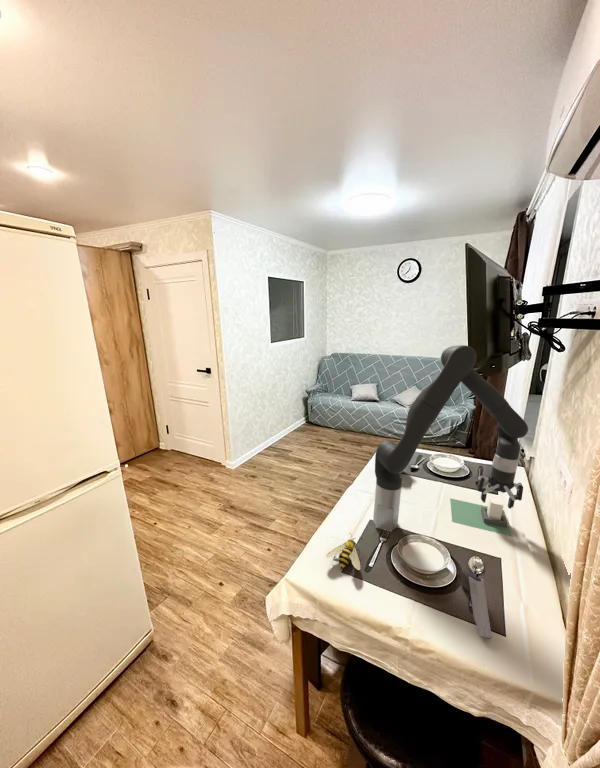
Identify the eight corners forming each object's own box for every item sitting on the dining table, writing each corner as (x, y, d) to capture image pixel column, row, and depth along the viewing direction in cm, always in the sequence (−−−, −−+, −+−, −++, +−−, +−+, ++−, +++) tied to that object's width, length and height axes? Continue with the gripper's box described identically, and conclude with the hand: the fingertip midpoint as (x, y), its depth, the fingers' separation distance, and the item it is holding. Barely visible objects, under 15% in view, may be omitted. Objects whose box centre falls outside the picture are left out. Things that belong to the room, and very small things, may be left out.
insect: (371, 549, 109) (372, 537, 108) (358, 581, 97) (359, 568, 95) (341, 537, 114) (341, 526, 113) (324, 566, 102) (325, 554, 100)
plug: (499, 523, 120) (503, 505, 118) (487, 520, 121) (491, 503, 119) (497, 515, 124) (500, 498, 122) (485, 513, 126) (489, 495, 124)
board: (512, 539, 114) (513, 531, 113) (451, 524, 121) (452, 517, 120) (503, 512, 128) (504, 505, 127) (449, 500, 135) (450, 494, 135)
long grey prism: (465, 631, 89) (480, 636, 79) (458, 569, 97) (471, 567, 87) (478, 633, 88) (496, 639, 78) (470, 571, 96) (485, 569, 86)
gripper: (483, 467, 115) (476, 505, 119) (529, 475, 110) (520, 515, 114) (481, 458, 122) (474, 494, 126) (524, 466, 117) (515, 503, 121)
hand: (496, 504), depth 120 cm, fingers open, 8 cm apart
